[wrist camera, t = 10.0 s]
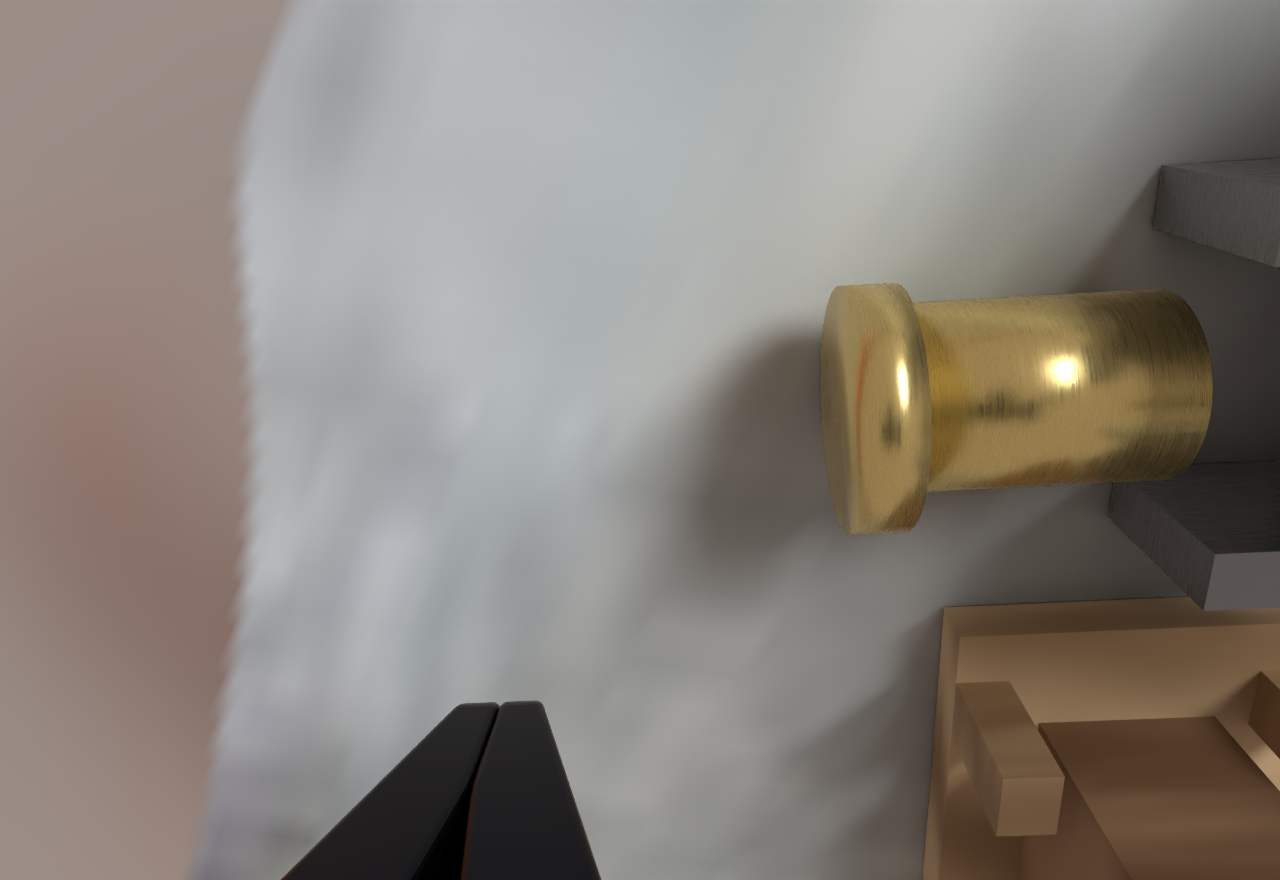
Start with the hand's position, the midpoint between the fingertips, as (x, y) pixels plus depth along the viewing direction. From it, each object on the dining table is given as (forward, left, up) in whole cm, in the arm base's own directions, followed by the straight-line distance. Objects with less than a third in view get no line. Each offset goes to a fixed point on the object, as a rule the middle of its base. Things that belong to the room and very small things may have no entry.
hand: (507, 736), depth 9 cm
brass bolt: (-8, 0, -11) cm, 14 cm away
